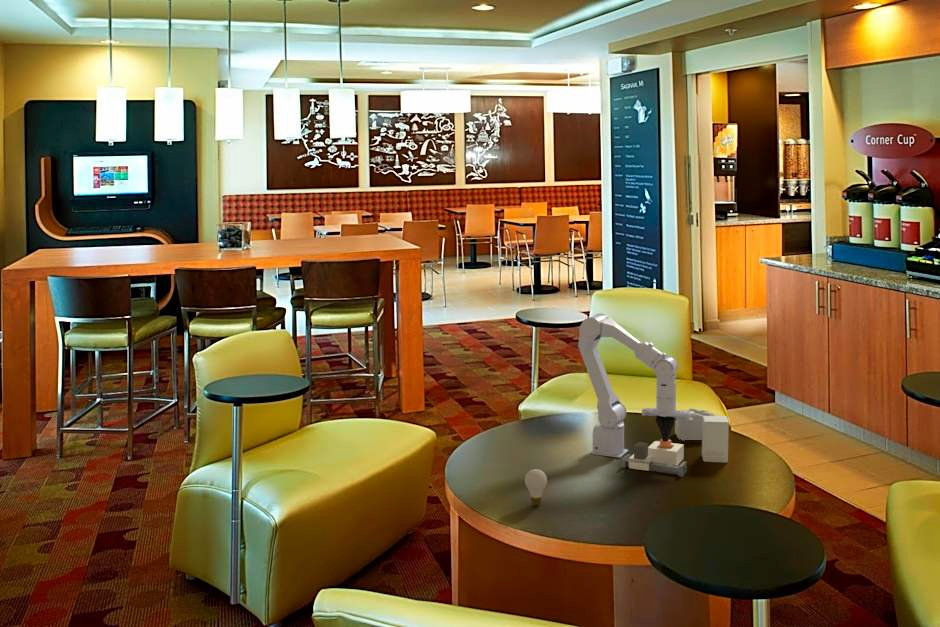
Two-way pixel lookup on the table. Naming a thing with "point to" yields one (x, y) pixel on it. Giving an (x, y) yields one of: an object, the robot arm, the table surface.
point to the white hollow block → (666, 453)
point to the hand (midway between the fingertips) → (665, 440)
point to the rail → (660, 467)
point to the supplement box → (715, 438)
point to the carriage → (640, 457)
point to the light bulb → (535, 485)
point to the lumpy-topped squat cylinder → (691, 425)
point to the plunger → (665, 444)
